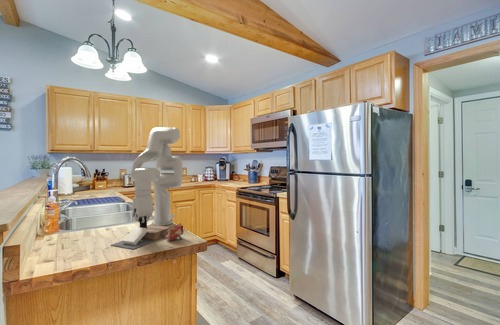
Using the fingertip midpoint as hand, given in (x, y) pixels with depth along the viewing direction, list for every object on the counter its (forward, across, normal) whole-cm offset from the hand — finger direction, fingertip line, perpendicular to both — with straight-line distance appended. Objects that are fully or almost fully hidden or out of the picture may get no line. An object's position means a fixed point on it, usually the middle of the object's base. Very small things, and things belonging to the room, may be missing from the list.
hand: (143, 229), depth 128 cm
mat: (+5, +7, 0) cm, 8 cm away
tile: (+2, +5, 0) cm, 5 cm away
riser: (+5, -6, 0) cm, 8 cm away
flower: (+5, -6, +15) cm, 16 cm away
